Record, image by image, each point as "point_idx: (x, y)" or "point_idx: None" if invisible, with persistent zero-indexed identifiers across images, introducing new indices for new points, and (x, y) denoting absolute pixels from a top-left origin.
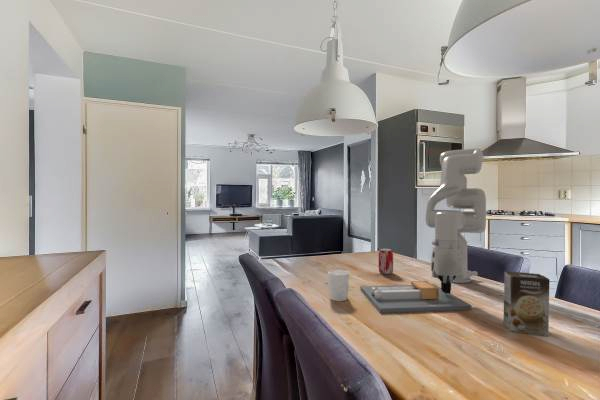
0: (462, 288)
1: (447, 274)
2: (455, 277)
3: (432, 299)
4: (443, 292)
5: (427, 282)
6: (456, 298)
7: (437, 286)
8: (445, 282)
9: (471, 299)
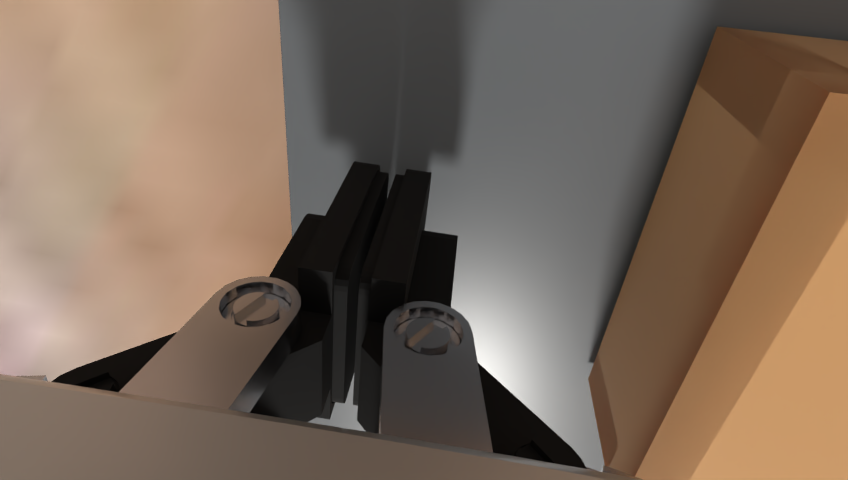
0: None
1: (385, 465)
2: (59, 379)
3: None
4: None
5: (670, 464)
6: (331, 9)
7: None
8: (411, 314)
9: (52, 78)
